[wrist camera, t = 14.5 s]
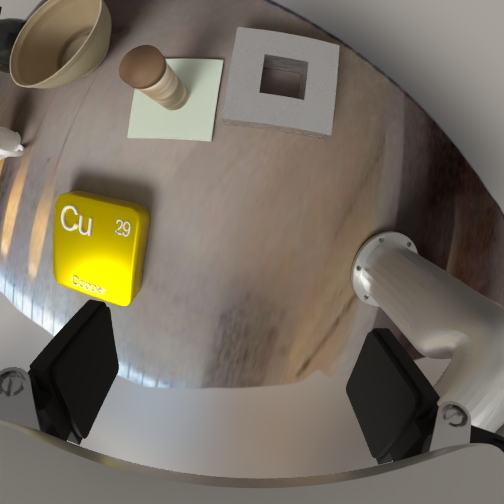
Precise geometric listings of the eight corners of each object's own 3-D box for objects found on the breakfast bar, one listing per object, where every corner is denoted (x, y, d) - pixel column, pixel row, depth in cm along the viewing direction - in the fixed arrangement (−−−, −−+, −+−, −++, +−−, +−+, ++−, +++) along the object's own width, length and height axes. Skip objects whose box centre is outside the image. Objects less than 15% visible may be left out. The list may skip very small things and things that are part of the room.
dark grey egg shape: (59, 26, 26) (11, -1, 11) (34, 76, 29) (-22, 62, 14) (27, 29, 24) (-18, 9, 10) (6, 75, 27) (-45, 65, 13)
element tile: (65, 273, 40) (51, 284, 36) (70, 187, 36) (53, 191, 32) (140, 297, 42) (130, 312, 37) (153, 206, 38) (142, 212, 33)
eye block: (328, 57, 31) (339, 45, 27) (320, 138, 35) (331, 135, 30) (238, 42, 30) (237, 27, 26) (225, 124, 34) (222, 118, 30)
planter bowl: (144, 56, 30) (115, 27, 20) (62, 117, 32) (18, 111, 22) (114, -2, 26) (88, -31, 15) (41, 54, 27) (5, 40, 17)
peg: (191, 83, 32) (166, 43, 18) (187, 111, 33) (157, 84, 20) (162, 82, 31) (124, 47, 18) (157, 110, 33) (115, 86, 19)
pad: (223, 61, 31) (223, 60, 31) (211, 141, 35) (211, 141, 34) (142, 61, 31) (140, 60, 30) (129, 138, 34) (127, 137, 34)
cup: (10, 121, 31) (-19, 119, 23) (39, 133, 32) (8, 132, 25) (-1, 156, 32) (-29, 159, 25) (28, 172, 34) (-3, 177, 26)
